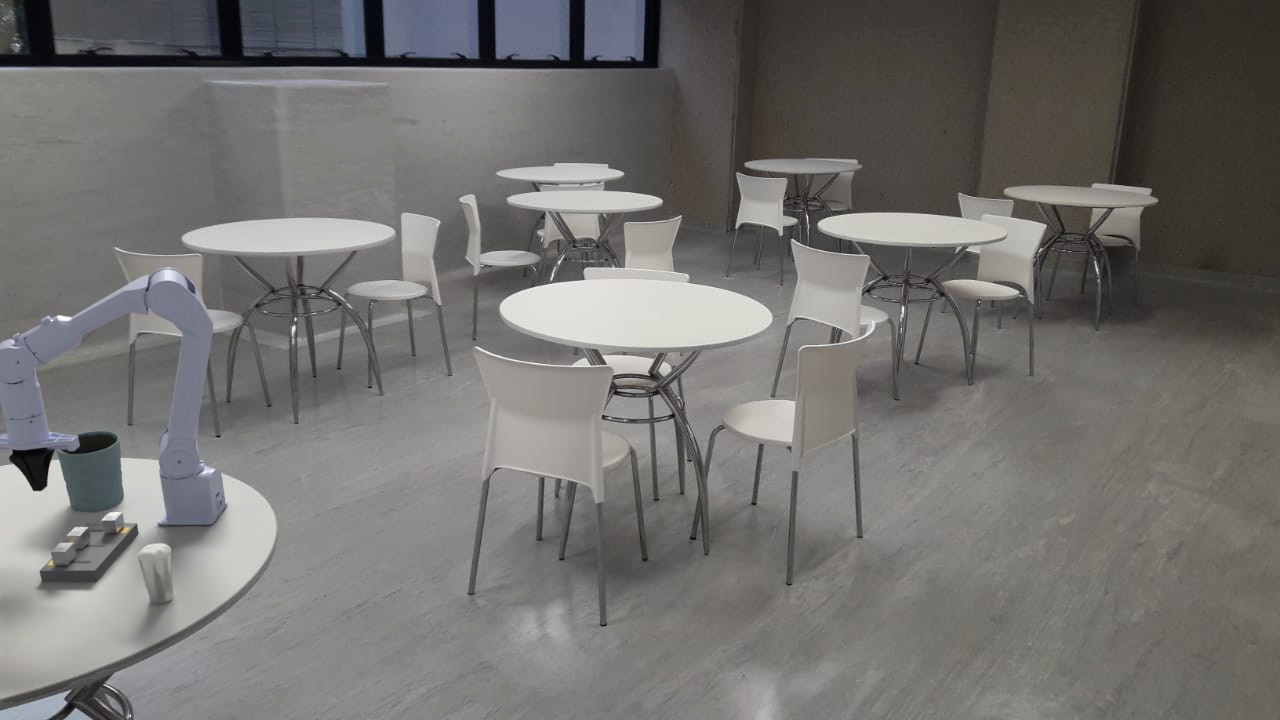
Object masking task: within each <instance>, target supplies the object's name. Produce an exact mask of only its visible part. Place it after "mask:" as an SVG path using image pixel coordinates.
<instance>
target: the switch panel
mask: <svg viewBox="0 0 1280 720" xmlns="http://www.w3.org/2000/svg"><path fill="white" fill-rule="evenodd" d="M124 524H125V525H124V526H123V527H122V528H121V529H120V530H119V531H118V533H103V528H102V522H99V523H98V522H91V523H90V522H87V523H85V524H84V525H83V526H82V527H89V532H90V537H91V541H90V542H89V543H88V544H87V545H86V546H85V547H84V548H83V549H75V550H76V555H77V556H76V557H75V558H74V559H73V560H72V561H71V562H70V563H69V564H68V565H53V560H52V557H51V559H49V560H48V562H46V564H45V565H43V566H42V567H41V569H40V570H39V575H40V580H41V582H42V583H45V582H46V583H49V582H51V583H53V582H54V583H55V582H57V583H58V582H62V583H65V582H68V583H69V582H72V583H73V582H75V583H76V582H78V583H79V582H84V583H85V582H94V583H95V582H98V581H99V580H100V579H101V578H102V576H103V575H104V574H105V573H106V572H107V570H108V569H109V568H110V567H111V566H112V565H113V564H114V563H115V562H116V561H117V559H118V558H119V557H120V556H121V555H122V553H123V552H124V551H125V550H126V549H127V548H128V547H129V545H130V544H131V543H132V542H133V541H134V540H135V538H136V537H137V536H138V535H139V528H138V522H124ZM66 543H68V542H66Z"/></svg>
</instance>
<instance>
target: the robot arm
mask: <svg viewBox="0 0 1280 720" xmlns="http://www.w3.org/2000/svg"><path fill="white" fill-rule="evenodd" d="M149 309H150V311H151V312H152V313H153V314H155V315H156V316H158V317H160V318H162V319H164V320H165V321H168V322H170V323H172V324H173V325H174V326H175V327H176V328H177V329H178V330H179V331H180V332H181V333H182V337H181V343H180V350H179V356H178V362H177V367H176V368H177V369H176V376H175V382H174V388H173V395H172V400H171V409H170V414H169V417H168V421H167V426H166V428H165V430H164V431H163V432H162V433H161V434H160V436H159V441H158V442H159V443H158V444H159V458H158V465H159V470H158V472H159V478H160V479H159V480H160V486H161V491H162V498H163V503H164V509H165V512H164V514H163V515H162V516H161V517H160V519H159V520H158V521H157V523H156V524H157V525H158V526H211V525H213V524H214V523H215V522H216V520H217V519H218V517H219V516H220V515H221V513H222V512H223V510H225V508H226V506H227V505H228V502H227V501H226V497H225V489H224V482H223V476H222V472H221V470H220V469H218V468H214V467H209V466H207V465H205V463H204V460H202V459H201V457H200V455H199V436H198V430H199V421H200V413H201V408H202V402H203V395H204V390H205V382H206V376H207V370H208V364H209V358H210V352H211V345H212V340H213V339H212V338H213V332H214V322H213V321H214V320H213V318H212V315H211V314H210V311H208V308H207V306H206V305H205V303H204V301H203V299H202V297H201V295H200V293H199V291H198V289H197V287H196V284H195V283H194V282H193V281H192V280H191V279H190V278H188V276H186V275H185V274H184V273H183V272H182V271H181V270H179V269H176V268H174V267H161V268H158V269H157V270H155V271H154V272H152V273H151V274H150V276H149V274H145V275H142V276H140V277H138V278H137V279H134V280H133V281H131V282H128V284H126V285H124V286H123V287H121V288H119V289H117V290H116V291H114V292H112V293H111V294H110V293H109V294H108V295H107V296H105V297H104V298H103V297H102V299H100V300H98V301H97V302H95V303H93V304H92V305H90V306H88V307H87V308H85V309H83V310H81V311H80V312H78V313H76V314H74V315H73V316H66V315H62V314H61V315H60V314H58V315H56V316H54V317H50V315H47V316H45V317H43V318H41V321H40V324H39V325H37V326H35V327H33V328H32V329H29V330H27V331H26V332H24V333H22V334H21V333H20V332H18V333H16V334H14V335H12V338H10V339H9V338H8V339H6V340H3V341H2V342H1V343H0V405H1V408H2V414H3V419H4V424H5V427H6V432H7V433H4V434H0V450H12V452H11V455H9V457H8V460H9V462H10V463H12V464H13V465H14V466H15V467H16V468H17V469H18V470H19V471H20V472H21V473H22V475H23V476H24V477H25V479H26V481H27V482H28V484H29V486H30V488H31V490H32V491H33V492H42V491H44V490H45V489H46V488H47V487H48V481H49V480H48V479H49V470H50V466H51V463H52V459H53V456H54V454H55V451H56V449H68V451H75V450H76V449H77V448H78V447H79V446H80V444H79V438H78V436H72V434H70V435H69V434H64V433H59V432H55V431H54V432H52V431H50V427H49V425H48V419H47V418H48V417H47V413H46V408H45V404H44V400H43V394H42V390H41V384H40V382H39V381H38V375H37V371H36V367H41V366H45V365H47V364H48V363H50V362H52V361H54V360H56V359H57V358H60V357H61V356H63V355H65V354H67V353H69V352H70V351H72V350H74V349H76V348H78V347H79V346H81V344H82V339H83V336H84V335H85V334H88V333H90V332H91V331H93V330H96V329H98V328H99V327H103V325H105V324H109V323H110V322H112V321H114V320H116V319H118V318H120V317H122V316H125V315H126V314H128V313H130V314H131V313H132V314H137V315H142V316H148V315H149Z"/></svg>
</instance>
